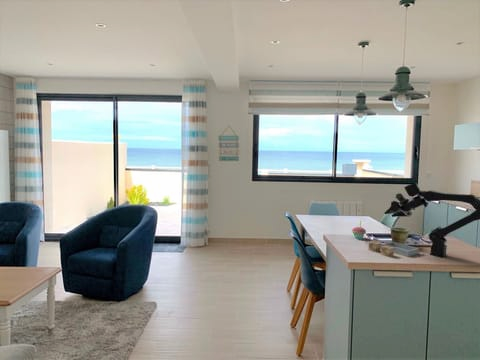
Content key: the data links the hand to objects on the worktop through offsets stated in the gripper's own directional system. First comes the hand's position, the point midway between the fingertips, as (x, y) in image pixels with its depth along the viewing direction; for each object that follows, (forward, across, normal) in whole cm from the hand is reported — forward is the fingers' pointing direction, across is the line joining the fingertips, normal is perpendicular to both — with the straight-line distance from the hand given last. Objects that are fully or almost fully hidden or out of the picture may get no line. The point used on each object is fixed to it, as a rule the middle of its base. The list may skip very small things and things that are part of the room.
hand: (388, 214), depth 198 cm
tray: (+2, 0, +22) cm, 22 cm away
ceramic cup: (+6, -12, +15) cm, 21 cm away
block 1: (+12, +11, +19) cm, 25 cm away
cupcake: (+26, -8, +4) cm, 27 cm away
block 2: (+5, +13, +25) cm, 28 cm away
